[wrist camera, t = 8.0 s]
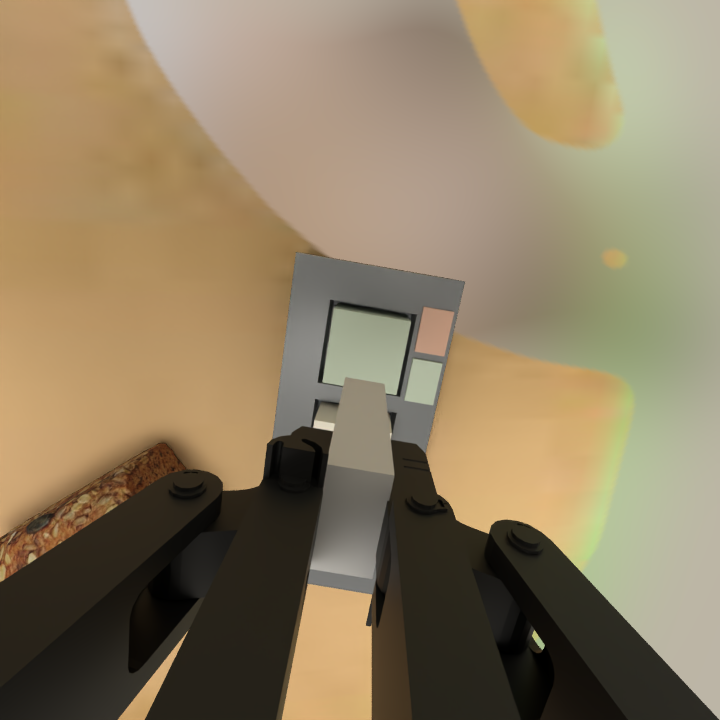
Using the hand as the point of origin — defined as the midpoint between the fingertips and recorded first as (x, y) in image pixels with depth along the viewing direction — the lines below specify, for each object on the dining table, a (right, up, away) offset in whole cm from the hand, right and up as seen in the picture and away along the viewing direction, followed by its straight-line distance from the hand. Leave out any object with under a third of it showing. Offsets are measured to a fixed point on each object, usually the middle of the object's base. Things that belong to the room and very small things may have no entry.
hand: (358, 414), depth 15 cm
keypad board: (-1, -3, +17) cm, 17 cm away
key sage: (+1, +3, +14) cm, 15 cm away
